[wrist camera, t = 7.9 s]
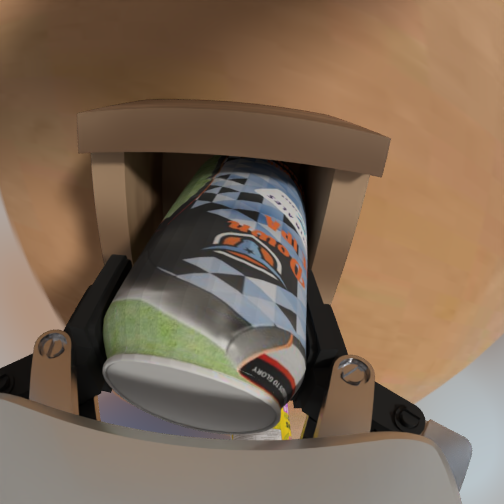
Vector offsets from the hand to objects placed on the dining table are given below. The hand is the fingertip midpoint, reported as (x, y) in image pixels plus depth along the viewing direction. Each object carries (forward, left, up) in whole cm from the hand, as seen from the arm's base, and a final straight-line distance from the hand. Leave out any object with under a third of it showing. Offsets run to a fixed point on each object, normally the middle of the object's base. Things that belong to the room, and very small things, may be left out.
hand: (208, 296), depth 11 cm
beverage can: (-2, +1, -7) cm, 7 cm away
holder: (0, 0, -9) cm, 9 cm away
